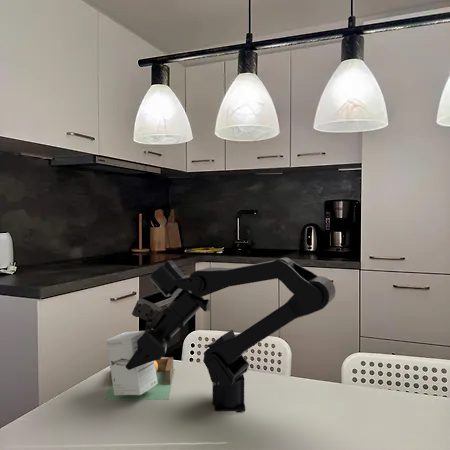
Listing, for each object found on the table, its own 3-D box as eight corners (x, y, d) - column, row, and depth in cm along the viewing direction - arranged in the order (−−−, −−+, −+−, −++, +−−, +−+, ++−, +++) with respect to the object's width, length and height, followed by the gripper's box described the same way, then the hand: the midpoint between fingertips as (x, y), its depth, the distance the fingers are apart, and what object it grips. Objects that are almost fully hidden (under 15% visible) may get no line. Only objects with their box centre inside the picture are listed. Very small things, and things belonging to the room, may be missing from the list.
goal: (173, 370, 112) (173, 357, 111) (170, 384, 102) (170, 370, 102) (118, 370, 111) (118, 357, 111) (110, 385, 102) (110, 371, 102)
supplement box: (113, 396, 94) (104, 340, 95) (133, 384, 101) (125, 331, 102) (140, 396, 91) (130, 337, 92) (159, 383, 98) (150, 329, 99)
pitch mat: (174, 370, 113) (174, 368, 112) (168, 400, 95) (168, 399, 95) (119, 370, 112) (119, 369, 112) (103, 401, 94) (102, 400, 94)
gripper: (158, 280, 105) (114, 325, 105) (147, 295, 87) (94, 349, 87) (190, 311, 106) (146, 355, 106) (186, 332, 87) (133, 387, 87)
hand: (130, 360), depth 96 cm, fingers closed on supplement box, 9 cm apart
